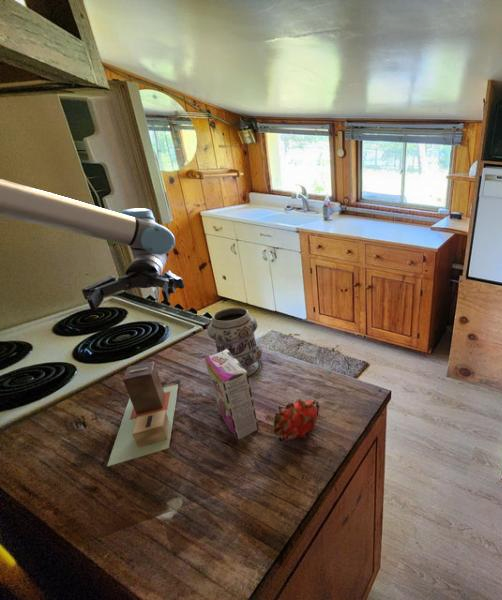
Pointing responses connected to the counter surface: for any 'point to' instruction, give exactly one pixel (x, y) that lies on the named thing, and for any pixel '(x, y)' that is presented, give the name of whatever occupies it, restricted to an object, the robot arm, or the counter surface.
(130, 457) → the word mat
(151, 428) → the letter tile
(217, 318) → the apothecary jar
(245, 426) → the candy bar box
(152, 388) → the brown rectangular block
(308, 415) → the dragon fruit
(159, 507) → the counter surface
